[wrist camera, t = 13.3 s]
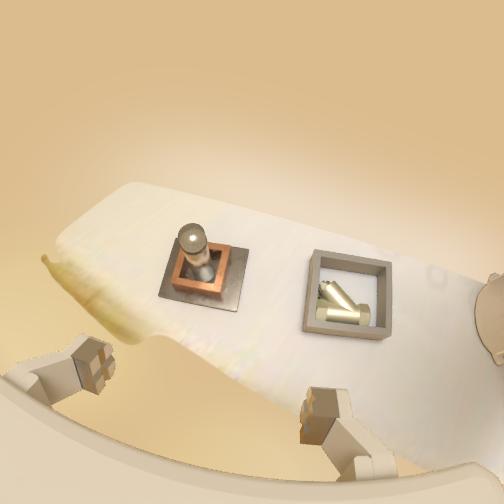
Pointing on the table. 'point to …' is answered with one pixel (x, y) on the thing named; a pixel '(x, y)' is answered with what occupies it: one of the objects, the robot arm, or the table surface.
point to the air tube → (196, 251)
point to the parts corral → (353, 265)
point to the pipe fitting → (340, 306)
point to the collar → (211, 292)
